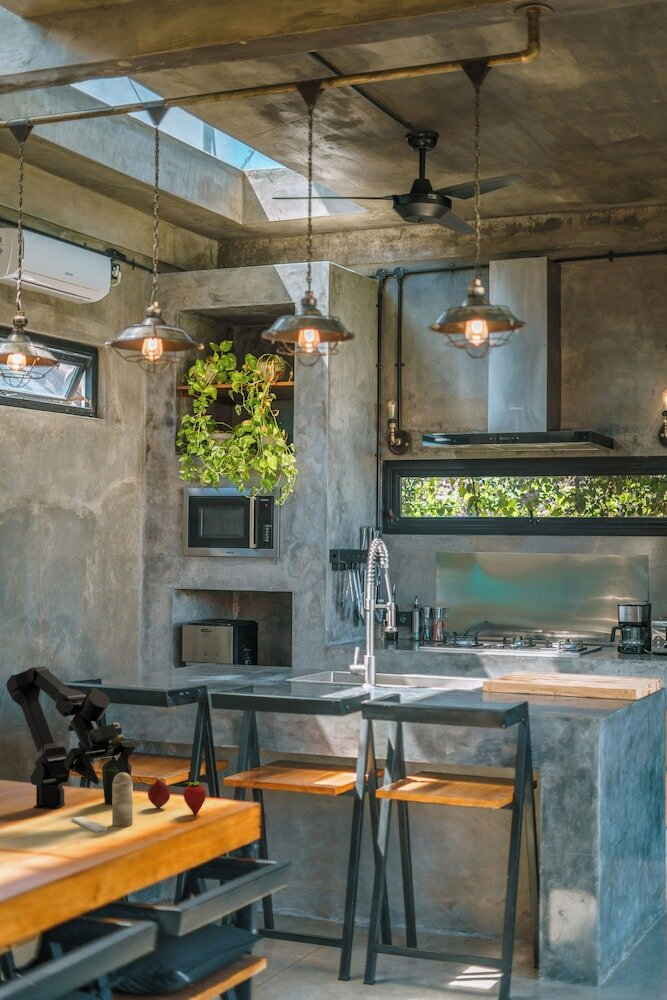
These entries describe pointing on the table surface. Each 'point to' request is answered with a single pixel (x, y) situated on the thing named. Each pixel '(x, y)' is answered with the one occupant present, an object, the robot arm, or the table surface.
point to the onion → (159, 793)
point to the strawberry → (194, 796)
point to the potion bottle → (111, 772)
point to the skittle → (122, 800)
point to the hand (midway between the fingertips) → (113, 781)
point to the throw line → (89, 824)
